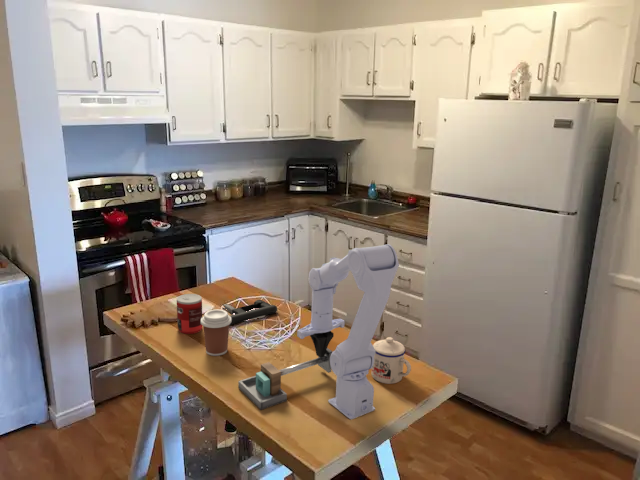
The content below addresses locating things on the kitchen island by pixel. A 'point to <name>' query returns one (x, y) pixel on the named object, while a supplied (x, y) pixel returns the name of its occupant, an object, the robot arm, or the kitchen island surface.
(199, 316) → the canned food
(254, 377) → the tray
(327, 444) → the kitchen island surface
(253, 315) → the door handle
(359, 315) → the robot arm
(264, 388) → the block
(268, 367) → the bearing block
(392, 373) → the teacup with lid
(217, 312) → the coffee cup
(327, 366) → the shaft
